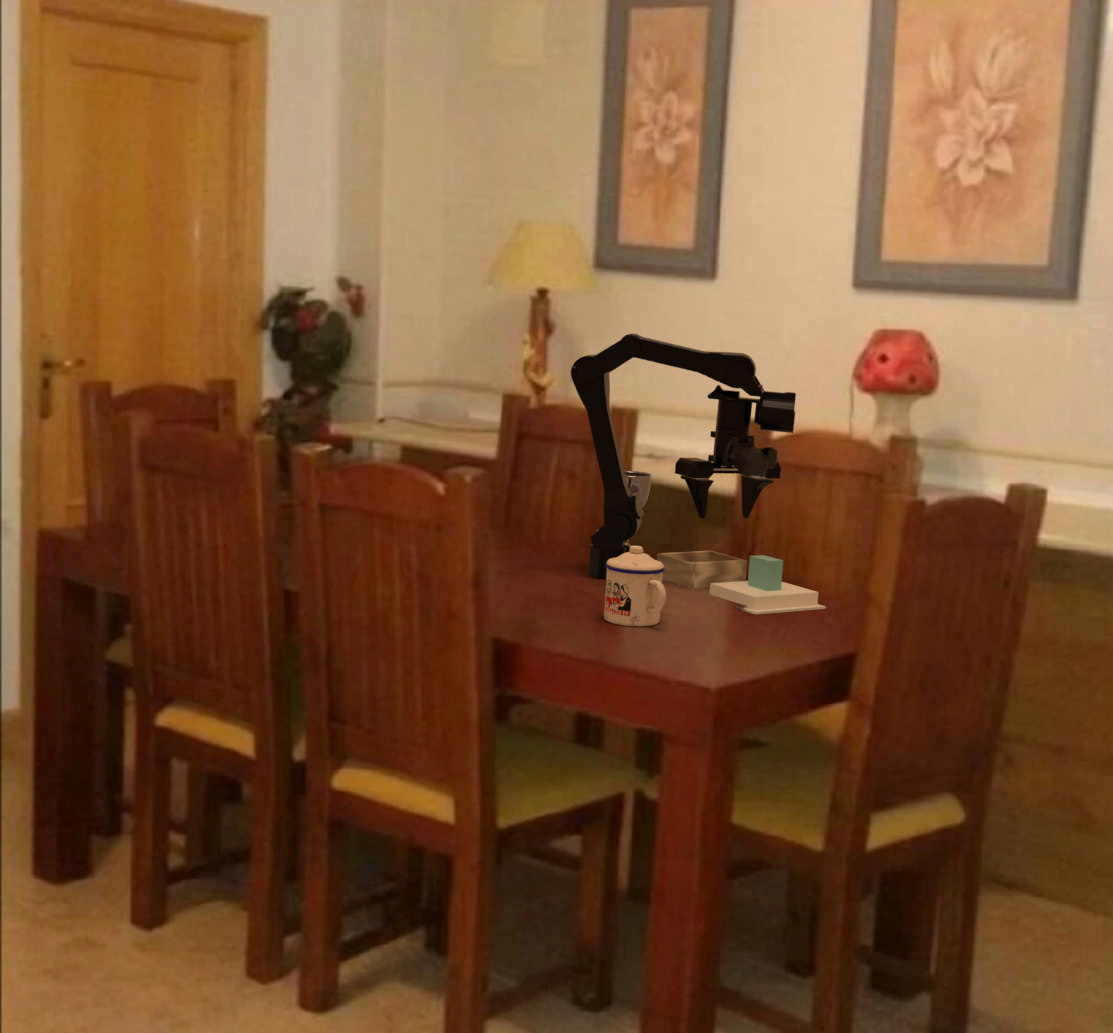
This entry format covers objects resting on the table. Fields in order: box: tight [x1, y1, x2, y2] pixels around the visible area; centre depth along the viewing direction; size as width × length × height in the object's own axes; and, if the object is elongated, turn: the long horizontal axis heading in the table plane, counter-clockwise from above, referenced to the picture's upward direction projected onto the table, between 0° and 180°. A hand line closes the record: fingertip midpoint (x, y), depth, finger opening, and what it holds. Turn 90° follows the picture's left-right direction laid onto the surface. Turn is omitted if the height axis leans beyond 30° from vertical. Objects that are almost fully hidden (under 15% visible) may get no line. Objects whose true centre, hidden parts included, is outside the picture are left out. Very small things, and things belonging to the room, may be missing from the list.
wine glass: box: [624, 470, 652, 553], centre depth 317 cm, size 8×8×15 cm
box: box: [656, 550, 748, 589], centre depth 285 cm, size 12×10×5 cm
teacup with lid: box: [603, 545, 667, 627], centre depth 251 cm, size 12×9×12 cm
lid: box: [709, 554, 819, 610], centre depth 272 cm, size 14×12×7 cm
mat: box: [732, 603, 826, 615], centre depth 272 cm, size 15×14×1 cm
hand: (723, 518), depth 280 cm, fingers open, 9 cm apart
